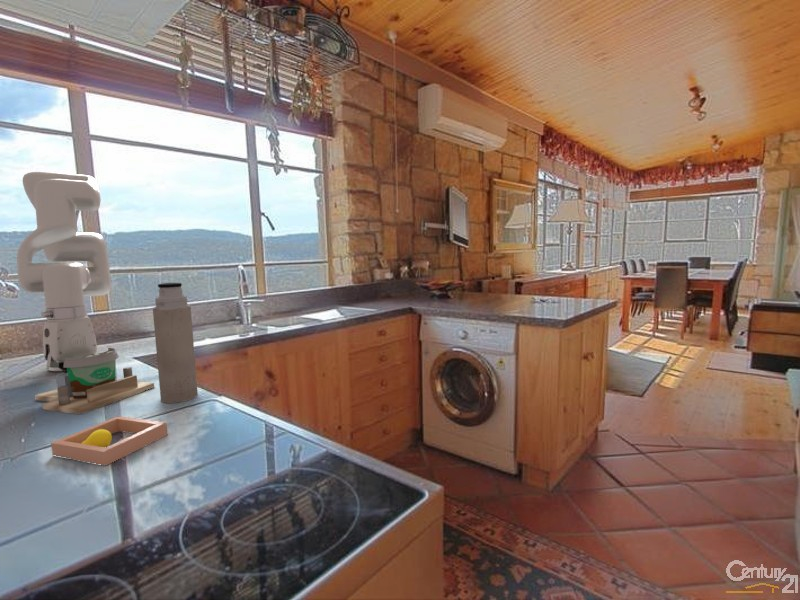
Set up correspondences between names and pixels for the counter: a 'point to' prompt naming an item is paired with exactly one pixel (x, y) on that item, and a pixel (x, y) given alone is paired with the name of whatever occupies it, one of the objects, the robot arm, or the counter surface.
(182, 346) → the thermos bottle
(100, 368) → the food container
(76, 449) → the pink square frame
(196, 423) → the counter surface
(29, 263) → the robot arm
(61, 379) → the block
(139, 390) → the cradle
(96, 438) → the light bulb
